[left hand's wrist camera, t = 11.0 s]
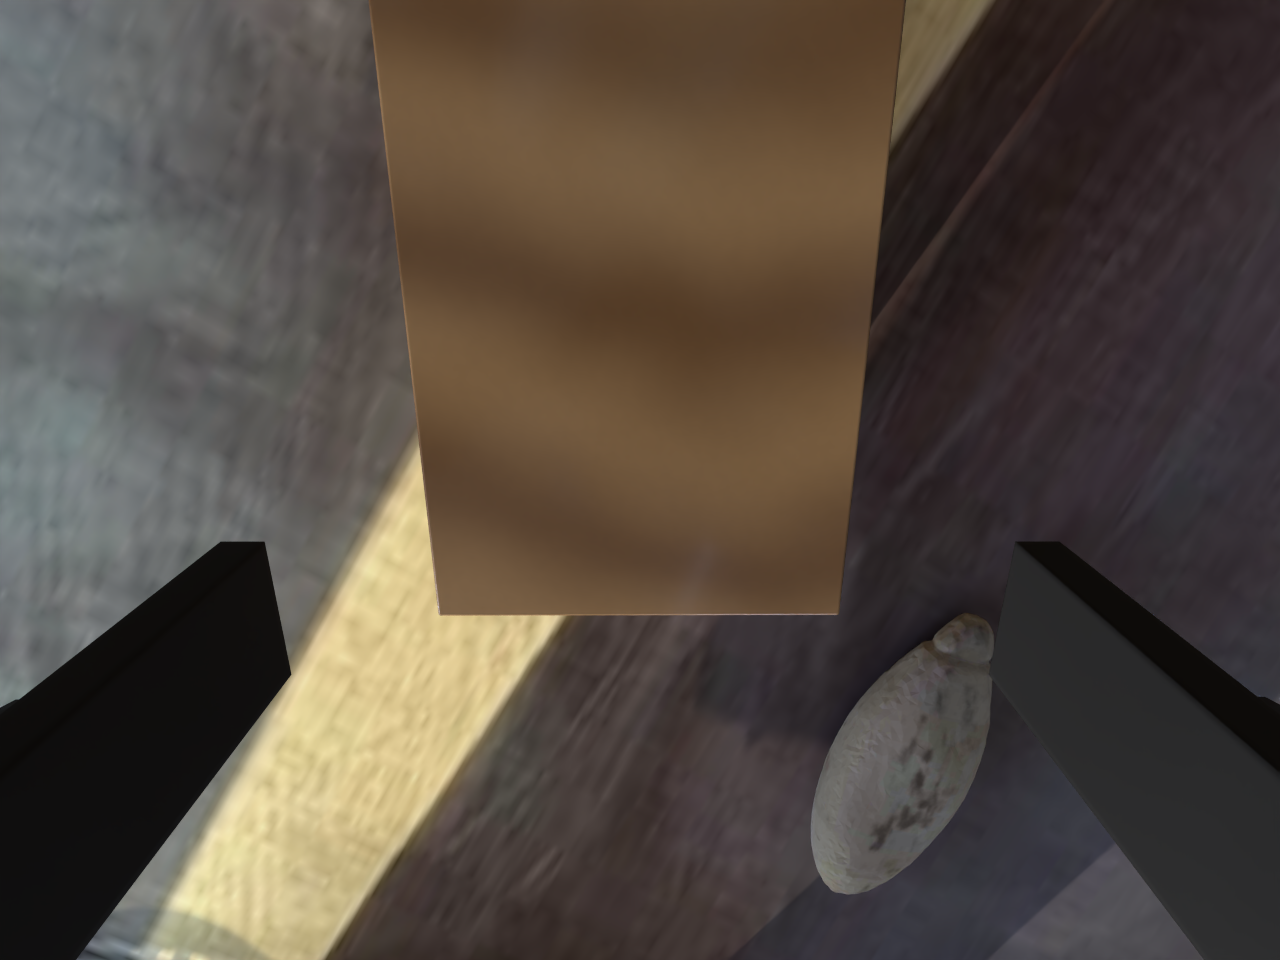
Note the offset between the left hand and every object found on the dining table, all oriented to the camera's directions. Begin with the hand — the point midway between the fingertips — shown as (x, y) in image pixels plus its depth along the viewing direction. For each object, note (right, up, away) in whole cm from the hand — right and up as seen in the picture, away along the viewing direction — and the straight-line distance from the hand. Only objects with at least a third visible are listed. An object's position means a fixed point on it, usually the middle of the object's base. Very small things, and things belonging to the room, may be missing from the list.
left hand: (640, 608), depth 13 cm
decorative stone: (+12, -10, +22) cm, 27 cm away
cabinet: (0, +11, +14) cm, 17 cm away
